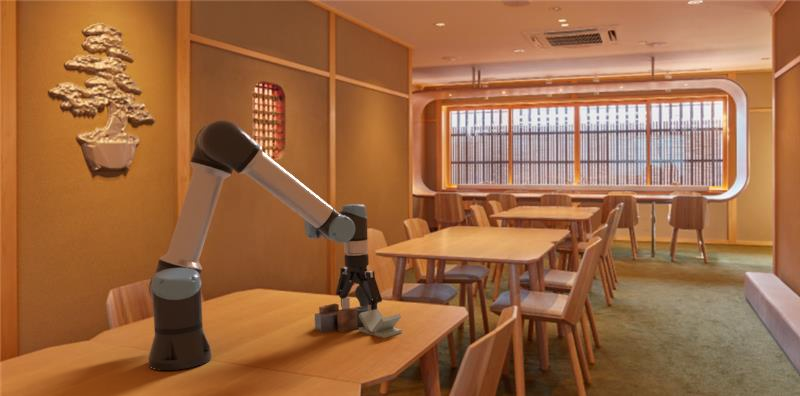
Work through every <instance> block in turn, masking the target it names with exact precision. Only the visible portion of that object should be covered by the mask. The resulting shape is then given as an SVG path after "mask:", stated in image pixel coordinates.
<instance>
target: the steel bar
mask: <svg viewBox="0 0 800 396" xmlns="http://www.w3.org/2000/svg"><path fill="white" fill-rule="evenodd" d="M354 308H356V309H357V322H358V327H362V326H363V327H365V326H364V324H363V323H362V321H361V319H360V318H359V316H358V315H359V314H360V313H362V312H367V311H368V307H367V306H356V307H354ZM348 309H349V308H348ZM341 310H345V309H342V308H341V309H339V310H335V311H329V312H322V313H319V312H317V313H314V327H315V328H314V330H316V331H318V332H319V333H327V332H333V331H338V320H337V311H341Z"/></svg>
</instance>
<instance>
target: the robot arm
mask: <svg viewBox="0 0 800 396" xmlns="http://www.w3.org/2000/svg"><path fill="white" fill-rule="evenodd" d="M189 164H190V165H191V168H192V170H193V171H192V174H191V178H190V181H189V184H188V188H187V190H186V193H185V195H184V199H183V202H182V205H181V208H180V212H179V216H178V218H177V221H176V225H175V229H174V231H173V234H172V237H171V241H170V244H169V247H168V251H167V253H166V254H163V255H162V256H160V257H159V260H158V262H157V266H156V269H155V272H154V274H153V275H152V277H151V278H150V281H149V285H148V291H149V296H150V299H151V301H152V307H153V308H152V309H153V324H154V325H153V326H154V327H153V330H154V337H153V340H152V344H151V348H150V350H149V355H148V367H149V366H150V367H152V368H155V369H160V370H175V371H178V370H177V369H183V370H186V369H185V368H189V369H191V368H190V367H193V368H195V367H194V366H197V367H199V366H198V365H200V366H202V365H204V364H203V363H205V364H206V362H207V361H208V362H210V361H211V359H212V349H211V346H210V343H209V341H208V339H207V337H206V333H205V331H204V328H203V305H202V289H201V288H202V279H201V274H202V270H203V267H202V264H201V263H200V258H201V255H202V251H203V248H204V245H205V242H206V239H207V236H208V232H209V229H210V226H211V222H212V219H213V217H214V214H215V209H216V207H217V204H218V200H219V197H220V194H221V191H222V187H223V184H224V181H225V179H227V178H229V177H230V176H232V174H233V171H235V173H236V174H239V175H246V176H247V177H248V178H250V179H251V180H252V181H253V182H256V183H257V184H258V185H259V186H260V187H262V188H263V189H264V190H266V191H267V192H268V193H270V194H271V195H272V196H273V197H275V198H276V200H277V199H278V200H279V201H280V202H282V203H283V204H284V205H286V206H287V207H288V208H289V209H291V210H292V211H293V212H294V213H296V214H297V215H299V216H300V217H301V218H302V219H304V223H303V227H304V232H305V236H306V237H307V238H308V239H317V240H318V239H326V240H328V241H329V240H330V241H333V242H334V243H339V244H340V243H343V253H344V266H343V267H340V275H339V278H338V283H337V287H336V291H335V295H336V296H339V298H340V307H341V310H342V309H348V308H351V305H350V303H351V302H350V297H349V295H350V292H351V290H352V288H353V286H354V285H355V284H357V285H358V286H359V285H360V286H361V287H362V289H363V291H364V293H365V295H366V297H367V299H368V301H369V304H368V311H371V310H375V309H378V304H379V303H382V302H383V298H382V295H381V293H380V289H379V287H378V284H377V280H376V277H375V271H374V270H369V271H368V268H367V267H368V266H369V264H370V261H369V260H370V259H369V254H368V252H369V241H368V239H369V237H368V215H367V214H368V213H367V207H366V205H365V204H362V203H350V204H343V205H342V207H341V208H342V209H341V211H338V210H337V209H335V208H334V207H333V206H332V205H330V204H329V203H328V202H327V201H326V200H324V199H323V198H322V197H320V196H319V195H318V194H316V193H315V192H314V191H313V190H312V189H310V188H309V187H308V186H306V185H305V184H304V183H303V182H302V181H300V180H299V179H297V178H296V177H295V176H294V175H293V174H292V173H291V172H289V171H287V170H286V169H285V168H284V167H283V166H282V165H280V164H279V163H278V162H276V161H275V160H274V159H272V158H271V157H270V156H269V155H268V154H267V153H265V152H264V151H263V146H262V145H261V144H260V143H259V142H257V141H256V140H255V139H254V138H253V137H252V136H250V135H249V134H248V133H247V132H246V131H245V130H244V129H242V127H241V126H239V125H237V124H236V123H234V122H232V121H230V120H225V119H224V120H223V119H222V120H221V119H219V120H215V121H212V122H211V123H209V124H206V125H204V126H203V127H202V128H201V129H200V130H199V131H198V132H197V133H196V137H195V139H194V149H193V152H192V156H191V159H190V161H189ZM208 362H207V363H208ZM201 364H202V365H201ZM150 367H149V368H150Z"/></svg>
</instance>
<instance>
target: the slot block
mask: <svg viewBox="0 0 800 396" xmlns="http://www.w3.org/2000/svg"><path fill="white" fill-rule="evenodd" d="M335 310H341V311H337V320H338V330H337V332H339V333H346V332H349V331H352V330H357V329H359V326H358V322H357V309H356V308H355V307H350V308H349V309H345V310H342V309H340V307H339V304H338V303H332V304H331V303H330V304H327V305H322V306H318V313H322V312H329V311H335Z"/></svg>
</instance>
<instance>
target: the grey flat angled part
mask: <svg viewBox="0 0 800 396" xmlns="http://www.w3.org/2000/svg"><path fill="white" fill-rule="evenodd" d="M358 316H359V318H360V319H361V321H362V323H363V324H364V326H363V327H362V326H360V327H358V332H360V333H364V334H367V335H371V336H375V337H378V338H382V339H386V338H391V337H393V336H396V335H399V334H402V333H403V332H402V330H403V329H401V328H397V327H395V325H396V324H397V323H398V322H399V321H400V319H401V318H402V316H401V314H400V313H397V314H393V315H389V316H384V317H383V315H382V313H381V312H380V310H379V308H377V309H375V310H371V311H367V312H362V313H360V314H359V315H358Z"/></svg>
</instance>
